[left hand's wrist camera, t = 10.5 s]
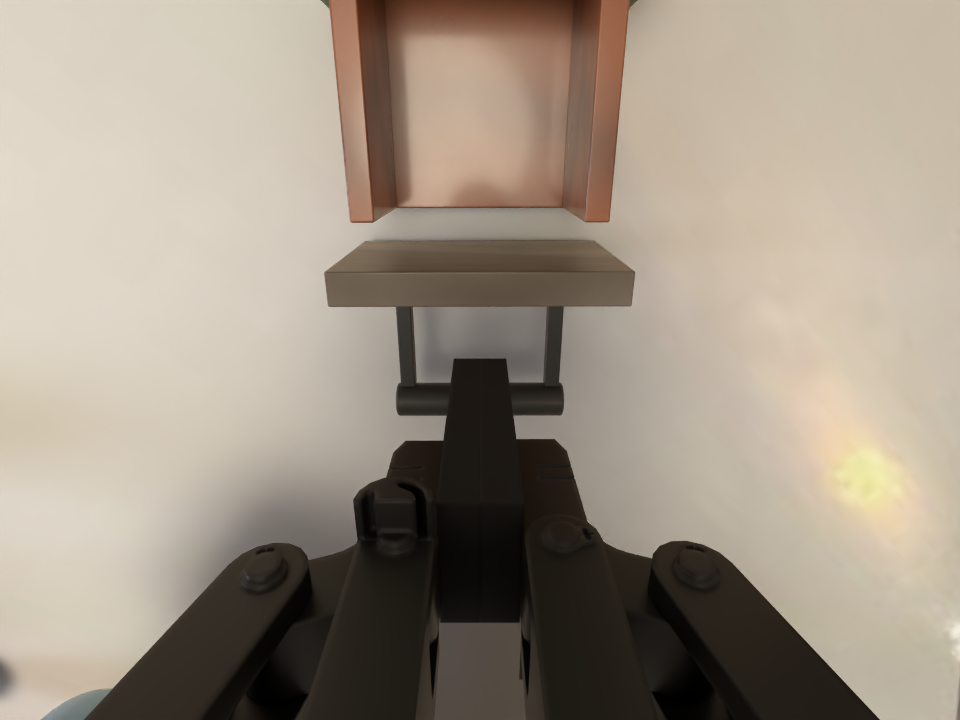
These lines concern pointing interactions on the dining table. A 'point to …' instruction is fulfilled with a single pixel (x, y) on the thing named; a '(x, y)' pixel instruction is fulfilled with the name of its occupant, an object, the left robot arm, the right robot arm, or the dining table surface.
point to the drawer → (479, 161)
